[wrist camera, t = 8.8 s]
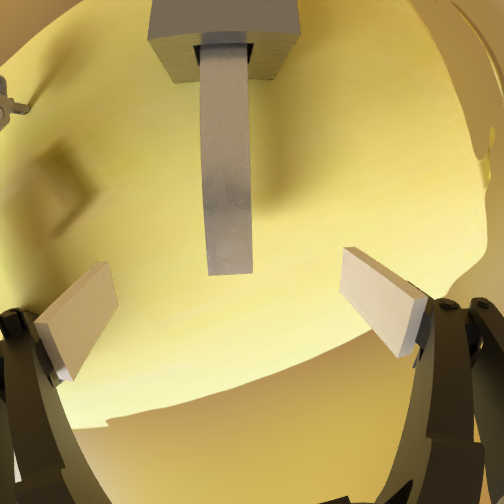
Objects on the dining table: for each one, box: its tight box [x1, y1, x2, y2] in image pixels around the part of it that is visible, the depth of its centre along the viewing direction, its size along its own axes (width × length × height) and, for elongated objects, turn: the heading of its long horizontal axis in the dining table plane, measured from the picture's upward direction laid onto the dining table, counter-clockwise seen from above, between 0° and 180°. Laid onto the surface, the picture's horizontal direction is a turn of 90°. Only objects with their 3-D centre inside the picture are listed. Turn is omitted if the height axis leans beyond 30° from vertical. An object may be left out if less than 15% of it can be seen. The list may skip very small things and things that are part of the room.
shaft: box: [200, 43, 253, 276], centre depth 22 cm, size 26×4×4 cm, turn 1°
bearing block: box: [147, 0, 301, 83], centre depth 20 cm, size 8×12×13 cm, turn 91°
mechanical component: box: [0, 75, 30, 131], centre depth 20 cm, size 3×10×10 cm, turn 19°
